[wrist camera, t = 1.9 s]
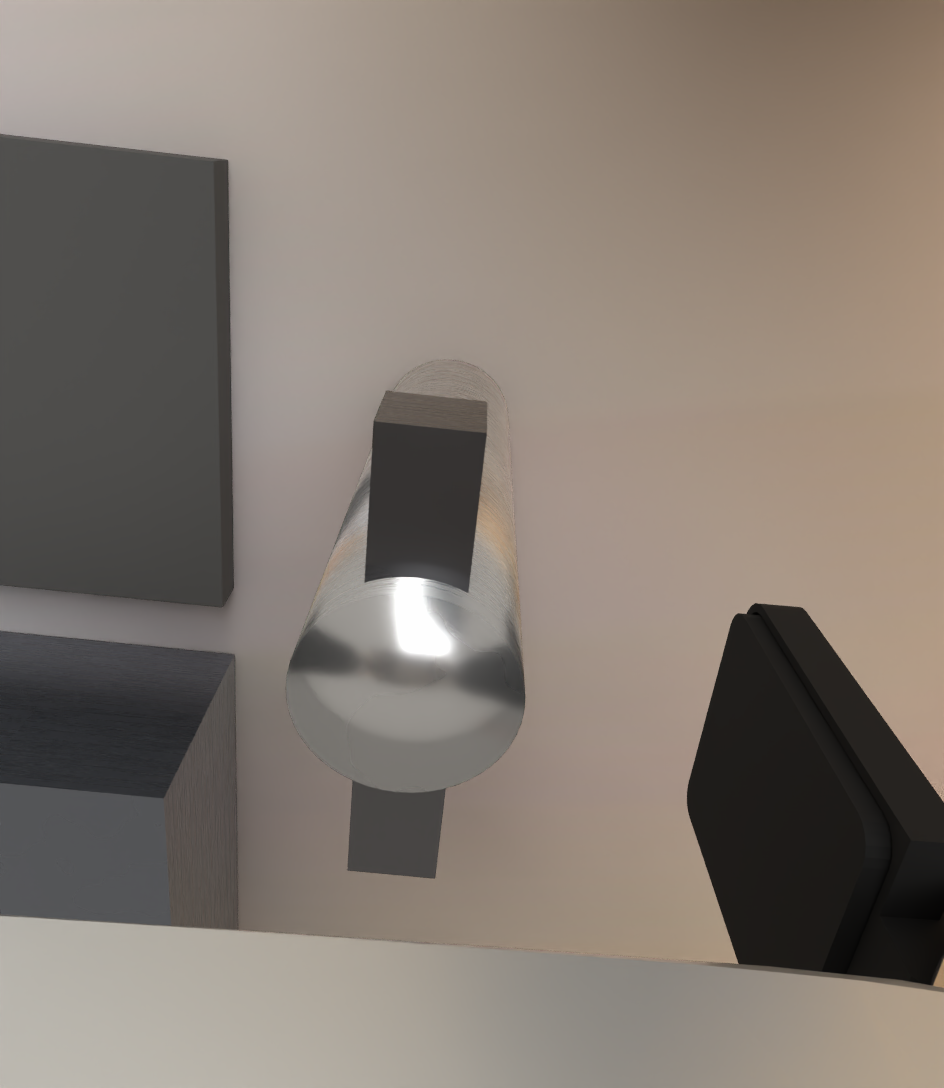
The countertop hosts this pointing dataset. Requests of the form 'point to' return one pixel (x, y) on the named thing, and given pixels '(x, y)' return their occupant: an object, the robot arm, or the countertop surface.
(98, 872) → the block
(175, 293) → the rubber pad
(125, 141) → the countertop surface
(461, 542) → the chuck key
